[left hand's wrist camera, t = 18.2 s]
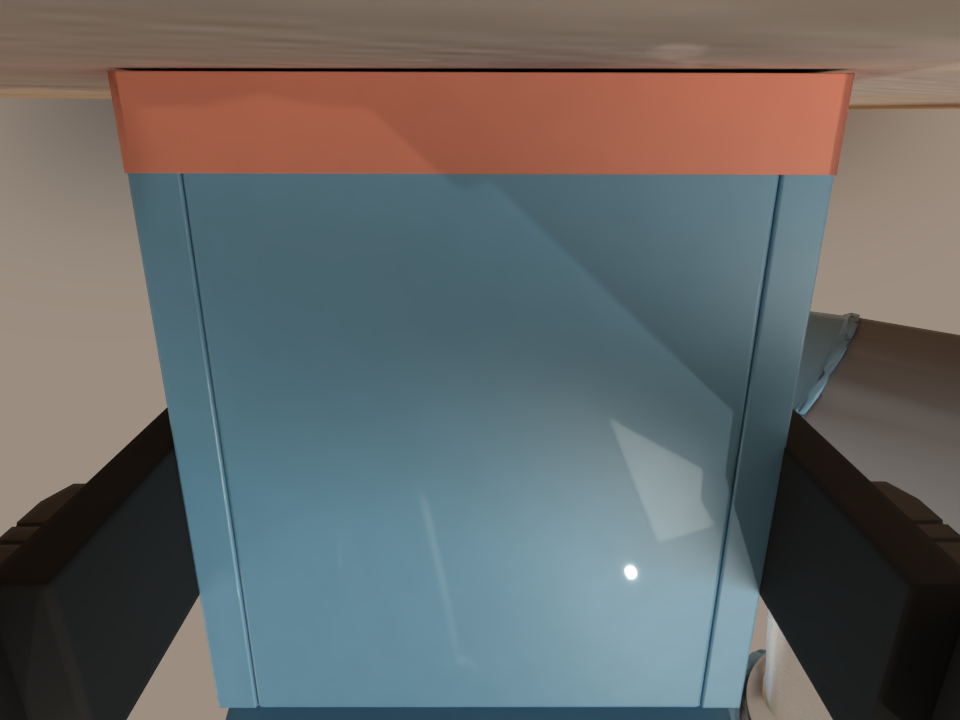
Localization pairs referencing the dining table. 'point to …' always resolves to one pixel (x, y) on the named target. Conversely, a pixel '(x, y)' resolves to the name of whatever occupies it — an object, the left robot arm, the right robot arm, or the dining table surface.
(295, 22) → the dining table surface
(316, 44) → the dining table surface
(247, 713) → the lid
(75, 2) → the dining table surface
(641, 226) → the chest
